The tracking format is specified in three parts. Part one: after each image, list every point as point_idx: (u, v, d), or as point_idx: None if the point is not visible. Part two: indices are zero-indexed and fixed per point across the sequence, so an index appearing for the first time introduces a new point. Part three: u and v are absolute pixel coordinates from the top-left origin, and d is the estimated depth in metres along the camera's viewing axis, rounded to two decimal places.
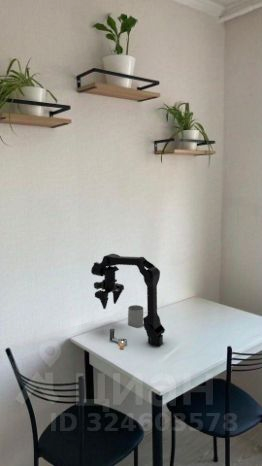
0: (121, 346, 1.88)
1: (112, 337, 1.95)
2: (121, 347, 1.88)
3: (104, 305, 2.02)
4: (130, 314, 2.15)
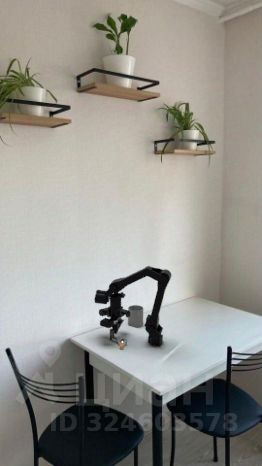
0: (121, 346, 1.88)
1: (112, 337, 1.95)
2: (121, 347, 1.88)
3: (115, 330, 1.97)
4: (130, 314, 2.15)
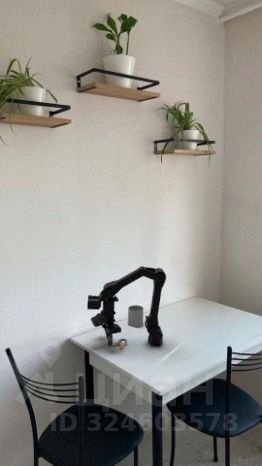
0: (121, 346, 1.88)
1: (112, 342, 1.90)
2: (121, 347, 1.88)
3: None
4: (130, 314, 2.15)
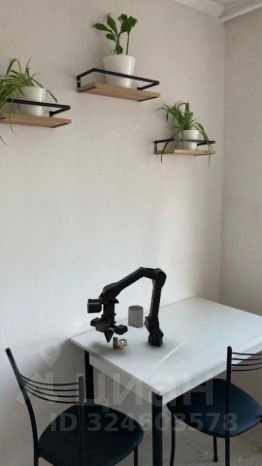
0: (121, 346, 1.88)
1: (117, 344, 1.87)
2: (121, 347, 1.88)
3: None
4: (130, 314, 2.15)
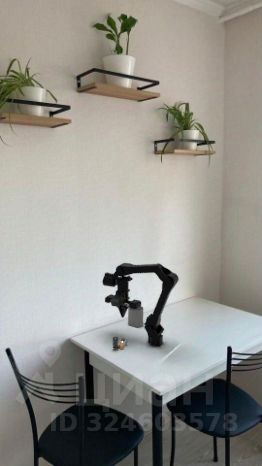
0: (121, 346, 1.88)
1: (117, 344, 1.87)
2: (121, 347, 1.88)
3: (125, 313, 1.99)
4: (130, 314, 2.15)
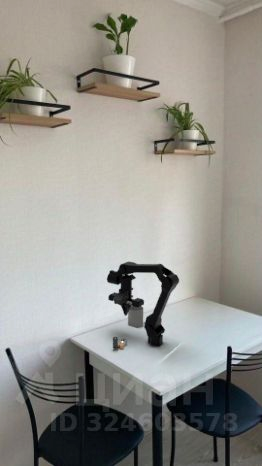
0: (121, 346, 1.88)
1: (117, 344, 1.87)
2: (121, 347, 1.88)
3: (128, 311, 2.01)
4: (130, 314, 2.15)
